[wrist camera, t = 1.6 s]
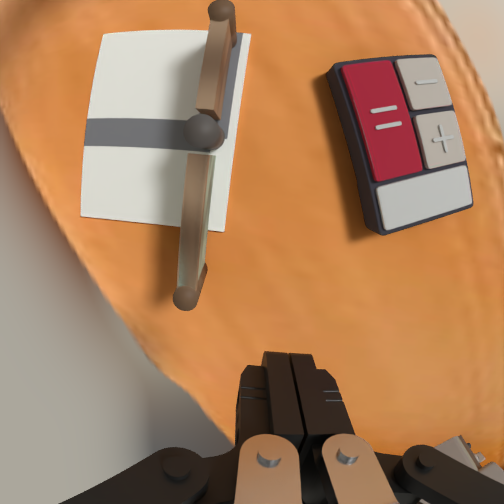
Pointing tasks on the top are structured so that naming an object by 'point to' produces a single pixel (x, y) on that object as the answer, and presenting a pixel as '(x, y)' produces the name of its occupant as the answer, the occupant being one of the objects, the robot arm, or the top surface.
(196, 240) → the panel
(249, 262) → the top surface
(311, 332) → the top surface
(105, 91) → the card
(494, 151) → the top surface
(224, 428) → the top surface
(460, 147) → the calculator
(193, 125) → the fence fixed section
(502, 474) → the portable television
